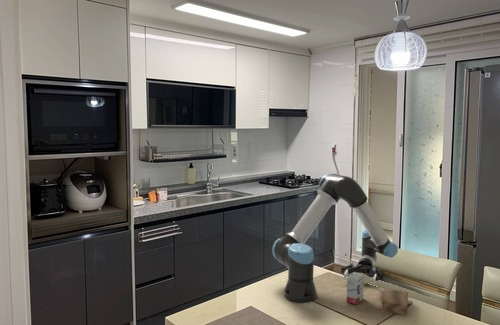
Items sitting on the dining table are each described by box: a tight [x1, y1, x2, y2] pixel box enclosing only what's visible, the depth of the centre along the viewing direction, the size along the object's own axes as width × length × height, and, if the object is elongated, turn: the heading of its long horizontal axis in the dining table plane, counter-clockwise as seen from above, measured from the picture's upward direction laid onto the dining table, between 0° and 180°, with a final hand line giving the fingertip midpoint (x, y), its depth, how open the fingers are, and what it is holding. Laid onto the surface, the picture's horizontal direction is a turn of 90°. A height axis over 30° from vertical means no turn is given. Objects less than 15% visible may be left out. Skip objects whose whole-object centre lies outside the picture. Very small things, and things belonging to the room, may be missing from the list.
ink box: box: [346, 272, 365, 306], centre depth 175 cm, size 9×5×12 cm, turn 143°
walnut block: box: [380, 288, 409, 317], centre depth 169 cm, size 10×14×5 cm
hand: (359, 279), depth 183 cm, fingers open, 13 cm apart
